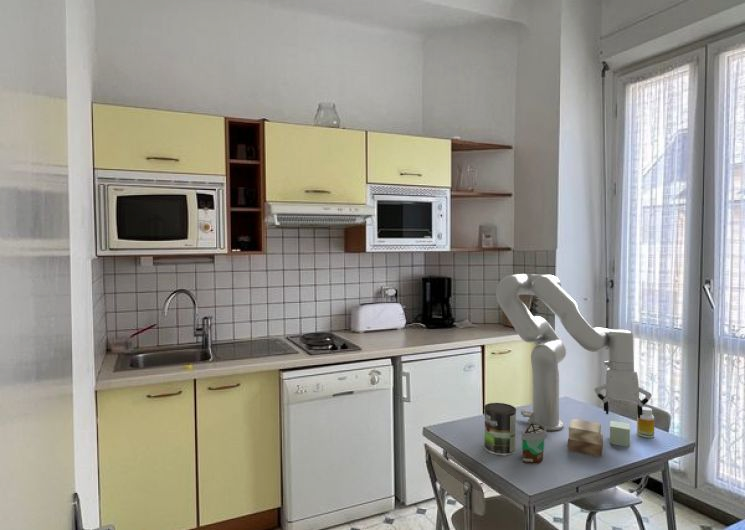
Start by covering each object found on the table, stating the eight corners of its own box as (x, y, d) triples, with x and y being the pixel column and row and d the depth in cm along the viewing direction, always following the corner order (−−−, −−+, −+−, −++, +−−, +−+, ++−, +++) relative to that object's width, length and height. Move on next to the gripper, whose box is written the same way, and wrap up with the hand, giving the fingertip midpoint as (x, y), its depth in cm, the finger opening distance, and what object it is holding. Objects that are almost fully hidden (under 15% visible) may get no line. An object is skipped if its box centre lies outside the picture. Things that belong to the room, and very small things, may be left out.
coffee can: (497, 458, 146) (497, 414, 146) (477, 445, 156) (478, 404, 155) (522, 452, 150) (522, 410, 150) (502, 440, 160) (502, 400, 159)
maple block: (568, 439, 152) (568, 427, 152) (572, 429, 160) (572, 418, 160) (598, 444, 148) (598, 432, 148) (600, 435, 155) (600, 423, 155)
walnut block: (567, 451, 152) (568, 439, 152) (571, 440, 161) (571, 429, 161) (601, 458, 147) (601, 445, 147) (602, 446, 156) (603, 434, 156)
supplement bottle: (656, 438, 161) (657, 411, 161) (640, 437, 162) (640, 410, 162) (650, 432, 166) (651, 406, 166) (634, 431, 167) (634, 405, 167)
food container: (542, 469, 138) (542, 437, 138) (521, 464, 142) (521, 432, 141) (550, 454, 149) (550, 424, 149) (530, 450, 152) (531, 420, 152)
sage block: (609, 443, 157) (609, 426, 157) (610, 437, 163) (610, 420, 162) (629, 447, 154) (629, 429, 154) (629, 440, 160) (629, 423, 159)
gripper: (593, 366, 159) (594, 415, 159) (651, 370, 150) (652, 422, 150) (594, 361, 165) (595, 408, 165) (650, 365, 157) (651, 415, 157)
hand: (622, 415), depth 158 cm, fingers open, 9 cm apart
